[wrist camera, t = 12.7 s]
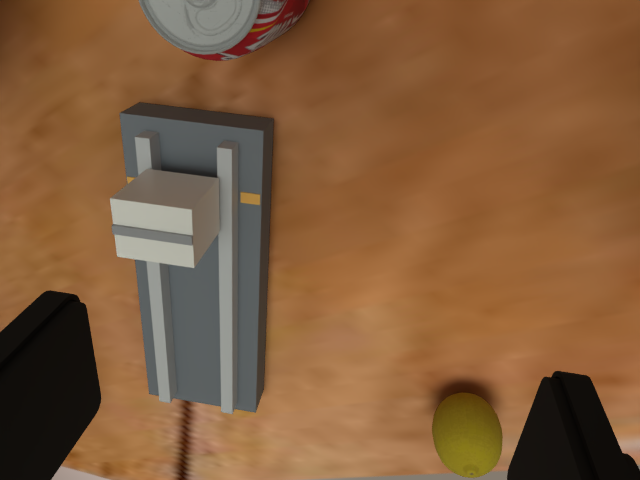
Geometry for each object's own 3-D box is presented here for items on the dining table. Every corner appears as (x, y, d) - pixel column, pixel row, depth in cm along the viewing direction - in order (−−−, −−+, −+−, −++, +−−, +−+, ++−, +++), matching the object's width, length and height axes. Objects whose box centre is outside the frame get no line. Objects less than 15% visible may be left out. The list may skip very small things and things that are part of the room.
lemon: (421, 408, 48) (423, 485, 41) (445, 365, 46) (451, 439, 39) (479, 427, 48) (490, 506, 41) (506, 385, 46) (523, 462, 39)
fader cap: (225, 170, 36) (190, 211, 31) (226, 222, 38) (193, 269, 33) (156, 161, 37) (108, 199, 31) (160, 212, 39) (115, 258, 33)
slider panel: (273, 118, 38) (257, 137, 34) (263, 388, 50) (251, 425, 46) (139, 102, 39) (108, 119, 35) (162, 371, 51) (142, 406, 47)
